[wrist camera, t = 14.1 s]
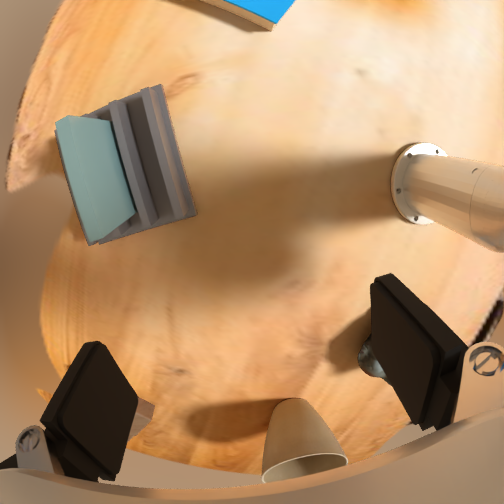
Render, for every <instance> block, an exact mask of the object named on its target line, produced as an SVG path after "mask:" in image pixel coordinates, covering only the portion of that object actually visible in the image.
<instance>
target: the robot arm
mask: <svg viewBox="0 0 504 504" xmlns="http://www.w3.org/2000/svg"><path fill="white" fill-rule="evenodd" d="M407 155H408V156H407ZM396 189H397V191H396ZM391 193H392V197H393V201H394V203H395V205H396V208H397V209H398V211H399V212H400V214H401V215H402V216H403V217H404V218H406V219H407V220H409V221H411V222H413V223H415V224H419V225H428V224H431V223H434V222H436V223H438V224H440V225H442V226H444V227H447V228H449V229H451V230H452V231H454V232H456V233H458V234H460V235H462V236H464V237H466V238H468V239H470V240H472V241H474V242H476V243H477V244H479V245H481V246H483V247H485V248H487V249H489V250H491V251H494V252H499V253H504V166H501V165H496V164H491V163H486V162H481V161H475V160H470V159H464V158H458V157H451V156H447V155H446V154H445V152H444V151H443V150H441V149H440V148H439V147H437V146H435V145H433V144H429V143H416V144H414V145H411V146H409V147H408V148H406V149H405V150H404V151H403V152H402V153H401V154H400V156H399V157H398V159H397V160H396V163H395V165H394V168H393V171H392V176H391ZM370 297H371V330H372V351H373V354H374V356H375V357H376V359H377V361H378V363H379V364H380V366H381V368H382V369H383V371H384V373H385V375H386V376H387V378H388V380H389V381H390V383H391V385H392V387H393V388H394V390H395V392H396V394H397V396H398V397H399V399H400V401H401V403H402V404H403V406H404V408H405V410H406V412H407V413H408V415H409V417H410V419H411V421H412V422H413V424H414V425H417V424H419V425H420V427H421V429H422V431H424V430H426V429H428V428H430V427H432V426H434V427H435V429H436V431H435V432H433V433H431V434H428V435H426V436H424V437H421V438H419V439H417V440H415V441H412V442H410V443H407V444H405V445H403V446H400V447H398V448H395V449H393V450H390V451H387V452H385V453H382V454H379V455H376V456H373V457H370V458H367V459H364V460H361V461H358V462H355V463H352V464H349V465H346V466H342V467H339V468H335V469H332V470H328V471H324V472H320V473H316V474H312V475H307V476H303V477H298V478H293V479H288V480H282V481H277V482H270V483H264V484H257V485H249V486H240V487H228V488H213V489H154V488H139V487H128V486H119V485H111V484H104V483H99V482H98V477H100V478H101V479H103V480H109V481H115V478H116V474H118V473H119V471H120V468H121V463H122V460H123V456H124V452H125V448H126V445H127V441H128V437H129V434H130V430H131V427H132V423H133V420H134V416H135V413H136V409H137V406H138V396H137V394H136V392H135V391H134V390H133V388H132V387H131V385H130V384H129V382H128V381H127V379H126V378H125V376H124V374H123V373H122V371H121V370H120V368H119V367H118V365H117V363H116V362H115V360H114V359H113V357H112V355H111V354H110V352H109V350H108V349H107V347H106V346H105V345H104V344H102V343H101V342H100V341H93V342H87V343H85V344H84V345H83V346H82V348H81V349H80V351H79V352H78V354H77V356H76V357H75V359H74V361H73V362H72V364H71V366H70V367H69V369H68V371H67V372H66V374H65V376H64V377H63V379H62V381H61V382H60V384H59V386H58V388H57V390H56V391H55V393H54V395H53V397H52V398H51V400H50V402H49V404H48V406H47V408H46V410H45V411H44V413H43V415H42V417H41V419H40V422H41V423H42V424H43V425H44V426H45V427H46V429H45V431H44V430H43V429H42V428H41V427H40V426H36V425H33V426H29V427H27V428H26V429H24V430H23V431H22V432H21V433H20V434H19V436H18V438H17V440H16V454H14V455H13V456H11V457H9V458H8V459H6V460H5V461H3V462H1V463H0V504H504V348H503V347H502V346H500V345H498V344H496V343H492V342H480V343H477V344H474V345H473V346H471V347H470V348H468V347H467V345H466V344H465V343H464V342H463V341H462V340H461V339H460V338H459V337H458V336H457V335H456V334H455V333H454V332H453V331H452V330H451V329H450V328H449V327H448V326H447V325H446V324H445V323H444V322H443V321H442V320H441V319H440V318H439V317H438V316H437V315H436V314H435V313H434V312H433V311H432V310H431V309H430V308H429V307H428V306H427V305H426V304H424V303H423V302H422V301H421V300H420V299H419V298H418V297H417V296H416V295H415V294H414V293H413V292H411V291H410V290H409V289H408V288H407V287H406V286H405V285H404V284H403V283H402V282H401V281H400V280H399V279H398V278H397V277H395V276H394V275H393V274H392V273H389V274H386V275H383V276H380V277H376V278H375V280H374V283H372V284H371V285H370Z"/></svg>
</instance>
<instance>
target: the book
mask: <svg viewBox="0 0 504 504" xmlns="http://www.w3.org/2000/svg"><path fill="white" fill-rule="evenodd" d="M200 1H203V2H205V3H208V4H211V5H213V6H216V7H219V8H221V9H224V10H226V11H228V12H231V13H233V14H235V15H238V16H240V17H242V18H244V19H247V20H249V21H251V22H253V23H255V24H257V25H259V26H261V27H263V28H265V29H267V30H269V31H272V30H273V29H274V28H275V26H276V25H277V24H278V22H279V21H280V20H281V18H282V17H283V16H284V15H285V13H286V12H287V11H288V10H289V8H290V7H291V6H292V5H293V3H294V2H295V1H296V0H200Z"/></svg>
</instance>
